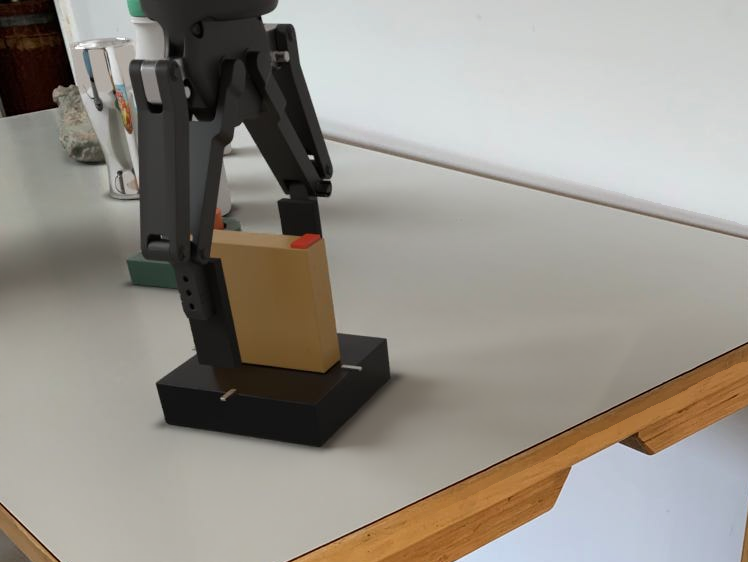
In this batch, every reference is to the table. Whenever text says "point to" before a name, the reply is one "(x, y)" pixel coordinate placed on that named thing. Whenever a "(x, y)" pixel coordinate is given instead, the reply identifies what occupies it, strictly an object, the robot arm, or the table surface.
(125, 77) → the beer glass
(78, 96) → the long grey stone
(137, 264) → the button block
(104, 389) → the table surface
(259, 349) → the tan wooden block
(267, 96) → the robot arm
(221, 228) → the button
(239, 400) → the black base
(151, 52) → the milk bottle
